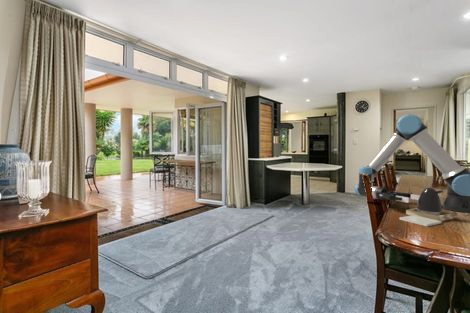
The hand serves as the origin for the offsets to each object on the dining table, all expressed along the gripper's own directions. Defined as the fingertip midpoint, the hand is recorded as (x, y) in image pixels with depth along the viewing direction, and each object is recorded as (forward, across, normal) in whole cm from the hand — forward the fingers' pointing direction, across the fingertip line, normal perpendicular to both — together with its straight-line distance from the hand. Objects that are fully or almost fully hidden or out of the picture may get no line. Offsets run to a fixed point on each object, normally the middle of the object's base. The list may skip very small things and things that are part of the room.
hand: (416, 199), depth 134 cm
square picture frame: (+6, 0, -8) cm, 10 cm away
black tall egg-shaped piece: (+6, 0, -8) cm, 10 cm away
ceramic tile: (+10, +15, -8) cm, 19 cm away
